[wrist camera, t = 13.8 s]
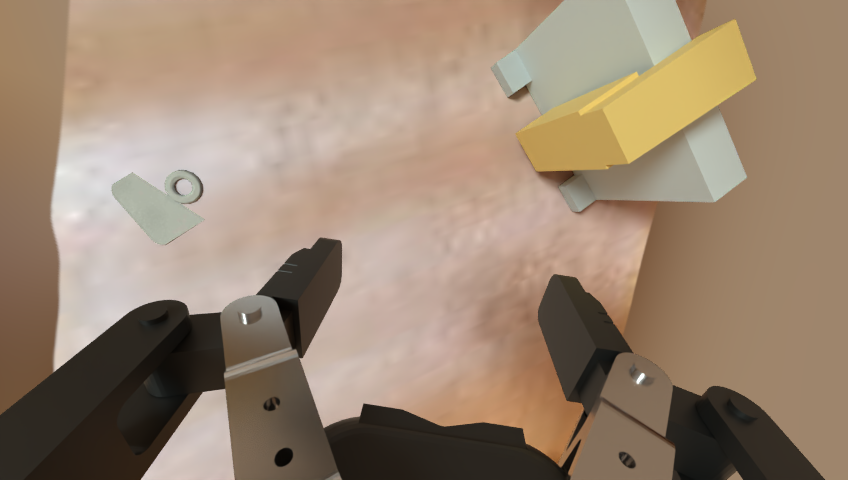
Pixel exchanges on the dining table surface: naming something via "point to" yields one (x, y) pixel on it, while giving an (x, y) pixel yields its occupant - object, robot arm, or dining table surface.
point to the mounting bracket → (159, 205)
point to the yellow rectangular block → (640, 106)
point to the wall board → (605, 63)
